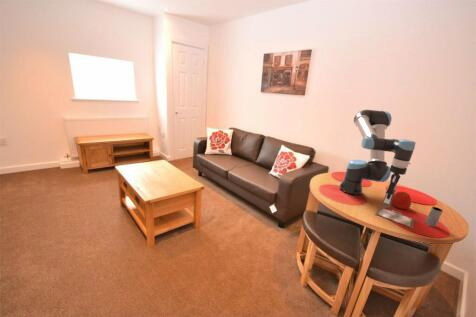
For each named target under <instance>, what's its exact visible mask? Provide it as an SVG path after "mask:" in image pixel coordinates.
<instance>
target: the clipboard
mask: <svg viewBox="0 0 476 317" xmlns="http://www.w3.org/2000/svg"><path fill="white" fill-rule="evenodd" d="M374 215H375V216H379V217H381V218H383V219H386V220H389V221H392V222H393V223H396V224H399V225H402V226H404V227H405V228H410V229H412V230H413V229H414V225H415V221H416V219H415V218H412V217H410V216H407V215H404V214H403V213H402V212H400V211H396V210H393V209H392V210H391V209H389V208H386V207H385V208H384V207H383V206H379V207H378V209H377V211H376V212H375V213H374Z"/></svg>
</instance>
